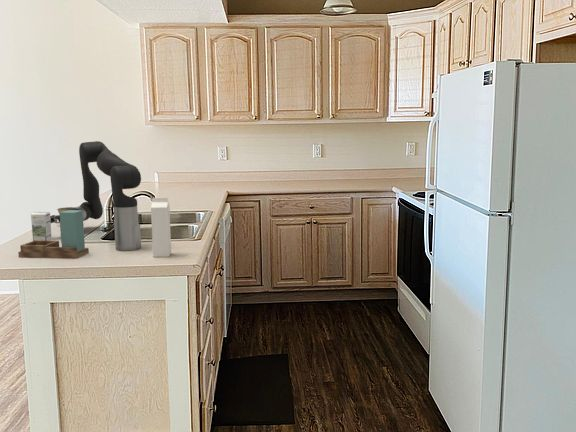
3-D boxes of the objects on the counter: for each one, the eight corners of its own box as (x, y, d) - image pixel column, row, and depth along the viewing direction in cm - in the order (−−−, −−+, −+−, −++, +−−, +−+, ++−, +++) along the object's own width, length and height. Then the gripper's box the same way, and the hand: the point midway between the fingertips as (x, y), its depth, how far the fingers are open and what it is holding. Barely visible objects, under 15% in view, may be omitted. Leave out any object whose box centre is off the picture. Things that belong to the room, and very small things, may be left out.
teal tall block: (84, 248, 222) (82, 210, 219) (77, 252, 216) (74, 212, 214) (68, 248, 223) (66, 210, 220) (60, 251, 217) (58, 212, 214)
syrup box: (52, 246, 237) (50, 211, 234) (47, 249, 231) (44, 213, 229) (38, 246, 236) (36, 211, 234) (33, 249, 231) (30, 213, 228)
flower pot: (61, 228, 279) (60, 210, 278) (55, 225, 286) (54, 208, 285) (81, 225, 285) (80, 208, 284) (74, 223, 292) (73, 206, 291)
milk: (155, 253, 222) (153, 197, 219) (171, 253, 222) (169, 196, 219) (152, 257, 216) (150, 198, 213) (169, 256, 216) (166, 198, 213)
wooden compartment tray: (88, 252, 224) (88, 241, 223) (76, 258, 214) (75, 246, 213) (33, 251, 227) (32, 240, 226) (18, 257, 217) (17, 245, 216)
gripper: (59, 207, 259) (39, 213, 243) (88, 208, 258) (71, 213, 242) (60, 223, 261) (40, 230, 245) (89, 224, 259) (72, 231, 243)
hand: (55, 222), depth 243 cm, fingers open, 8 cm apart
